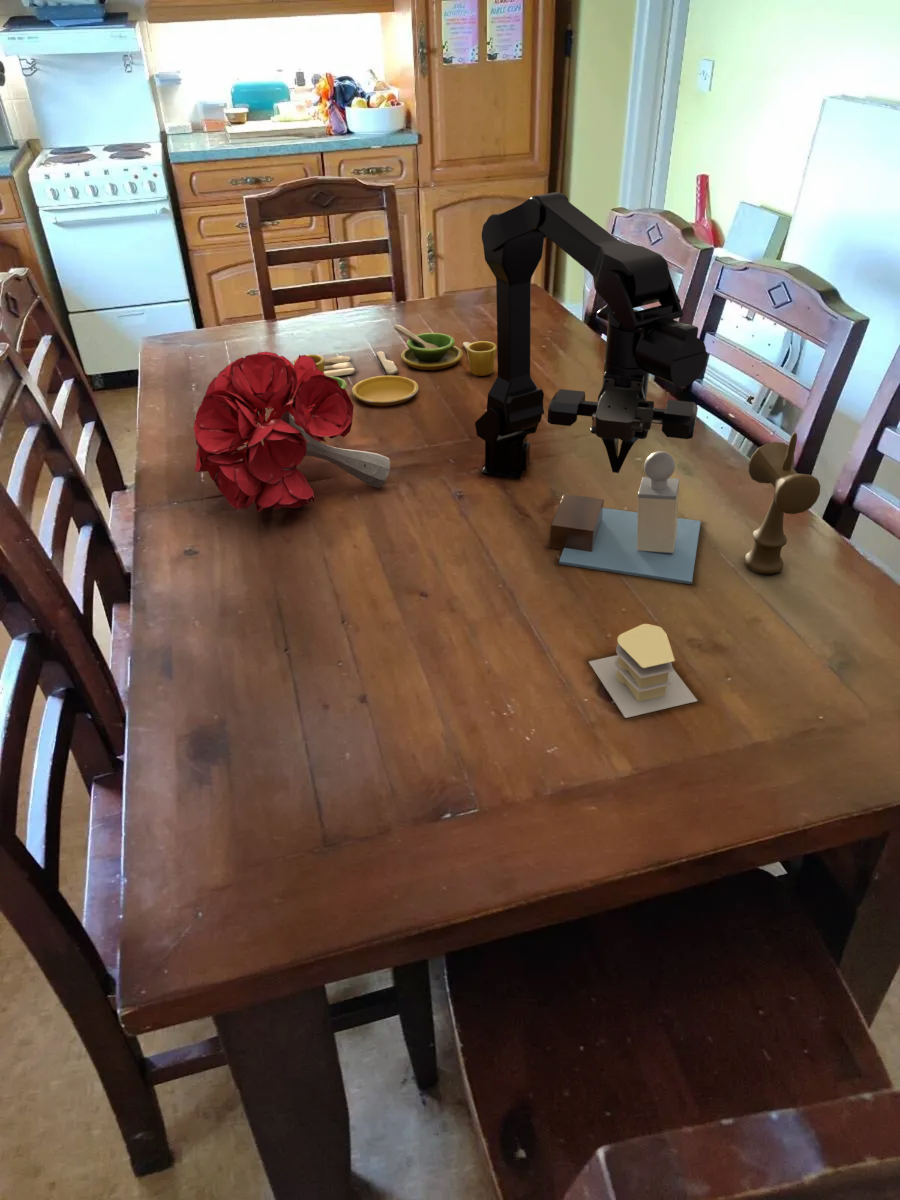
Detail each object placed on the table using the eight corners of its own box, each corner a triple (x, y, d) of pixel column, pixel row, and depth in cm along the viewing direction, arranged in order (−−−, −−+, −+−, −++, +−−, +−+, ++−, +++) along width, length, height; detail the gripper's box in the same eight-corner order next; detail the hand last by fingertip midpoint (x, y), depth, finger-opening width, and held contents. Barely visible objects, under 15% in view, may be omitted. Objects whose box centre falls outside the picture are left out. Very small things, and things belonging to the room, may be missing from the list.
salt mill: (596, 487, 116) (663, 456, 111) (602, 471, 120) (667, 439, 115) (645, 564, 121) (712, 537, 116) (650, 545, 125) (715, 518, 119)
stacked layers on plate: (697, 701, 97) (705, 664, 93) (625, 718, 95) (630, 681, 91) (656, 647, 104) (661, 611, 101) (588, 661, 102) (591, 625, 99)
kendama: (770, 545, 122) (802, 414, 110) (798, 585, 114) (836, 448, 102) (729, 548, 121) (756, 417, 109) (754, 588, 113) (787, 451, 101)
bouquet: (343, 490, 150) (172, 432, 136) (405, 374, 139) (225, 298, 125) (362, 565, 134) (170, 508, 120) (433, 441, 123) (230, 362, 109)
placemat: (558, 564, 119) (559, 561, 119) (579, 507, 131) (579, 504, 131) (691, 584, 114) (692, 581, 114) (700, 523, 127) (700, 520, 126)
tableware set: (474, 344, 187) (474, 315, 183) (512, 394, 166) (513, 362, 162) (285, 364, 180) (281, 335, 176) (299, 419, 158) (294, 387, 154)
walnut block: (549, 548, 122) (550, 524, 120) (561, 516, 129) (563, 493, 126) (591, 554, 121) (593, 530, 118) (601, 522, 127) (604, 499, 125)
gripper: (540, 377, 104) (536, 490, 113) (698, 392, 99) (680, 509, 108) (559, 345, 112) (553, 453, 122) (705, 358, 108) (688, 469, 117)
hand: (616, 471), depth 117 cm, fingers closed
